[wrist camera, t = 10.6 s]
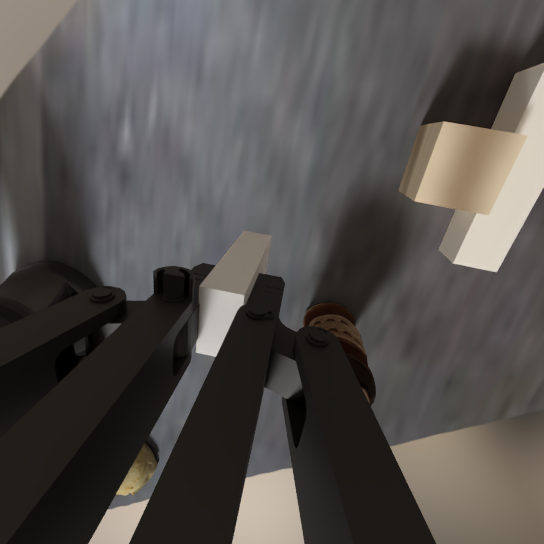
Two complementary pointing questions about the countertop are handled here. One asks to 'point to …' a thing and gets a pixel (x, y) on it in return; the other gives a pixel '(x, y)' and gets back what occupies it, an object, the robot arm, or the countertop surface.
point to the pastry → (139, 472)
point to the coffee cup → (344, 340)
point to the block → (460, 166)
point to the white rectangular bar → (517, 188)
